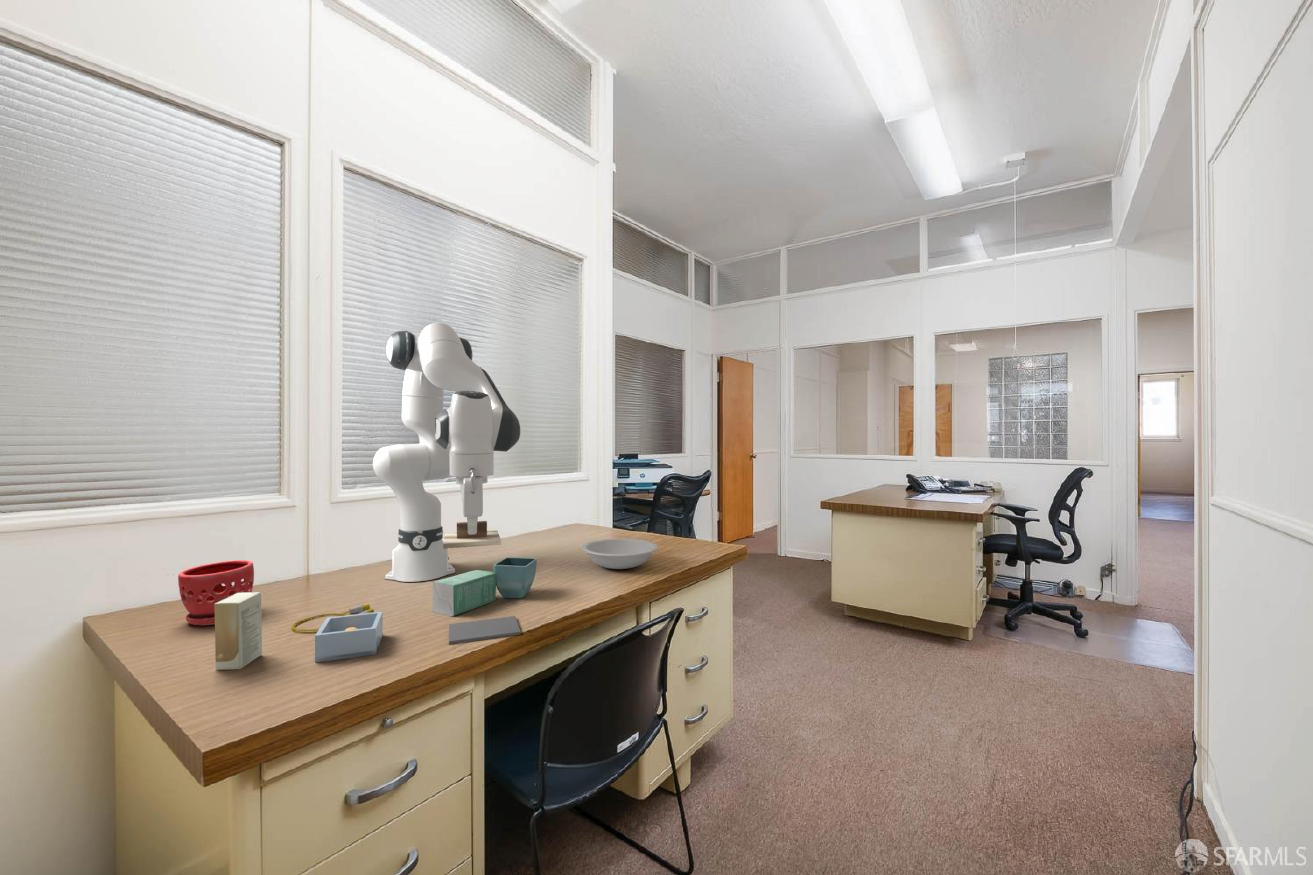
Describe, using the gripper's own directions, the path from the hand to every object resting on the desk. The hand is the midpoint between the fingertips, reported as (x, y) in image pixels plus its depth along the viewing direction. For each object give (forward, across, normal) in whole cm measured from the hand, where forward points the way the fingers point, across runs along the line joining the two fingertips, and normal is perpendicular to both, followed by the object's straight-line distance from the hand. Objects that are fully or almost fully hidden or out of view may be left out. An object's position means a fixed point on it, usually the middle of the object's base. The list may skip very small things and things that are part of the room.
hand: (472, 532), depth 110 cm
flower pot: (+22, +22, -11) cm, 33 cm away
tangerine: (+19, 0, +23) cm, 29 cm away
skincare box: (+22, 0, +41) cm, 46 cm away
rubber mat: (+21, 0, -2) cm, 21 cm away
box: (+22, +18, +1) cm, 28 cm away
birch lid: (+2, 0, 0) cm, 2 cm away
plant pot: (+21, +29, +54) cm, 65 cm away
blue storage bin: (+21, 0, +23) cm, 31 cm away
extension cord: (+22, +18, +29) cm, 40 cm away
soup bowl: (+22, +41, -45) cm, 64 cm away
